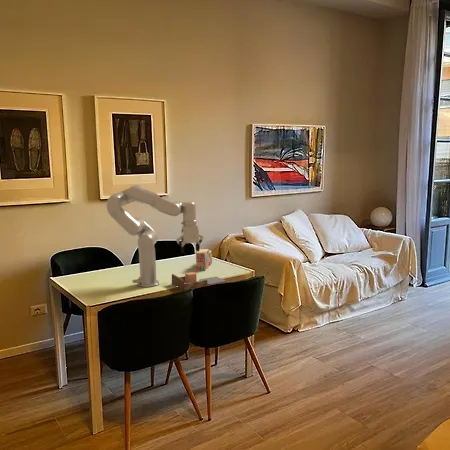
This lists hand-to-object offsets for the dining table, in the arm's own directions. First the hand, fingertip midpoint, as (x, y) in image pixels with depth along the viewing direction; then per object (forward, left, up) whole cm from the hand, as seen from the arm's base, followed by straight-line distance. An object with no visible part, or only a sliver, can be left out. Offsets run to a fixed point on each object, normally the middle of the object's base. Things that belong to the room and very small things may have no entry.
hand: (190, 251), depth 272 cm
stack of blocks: (+27, +33, -20) cm, 47 cm away
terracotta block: (0, 0, -20) cm, 20 cm away
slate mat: (+15, 0, -20) cm, 25 cm away
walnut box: (-1, 0, -20) cm, 20 cm away
